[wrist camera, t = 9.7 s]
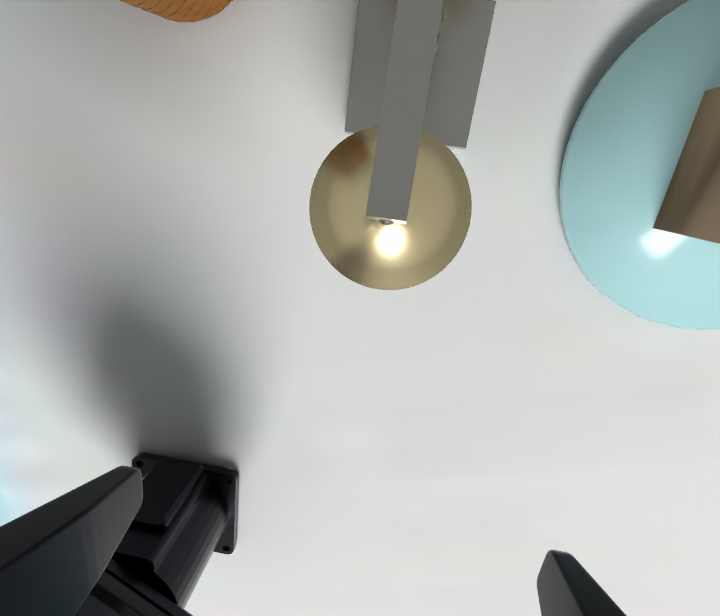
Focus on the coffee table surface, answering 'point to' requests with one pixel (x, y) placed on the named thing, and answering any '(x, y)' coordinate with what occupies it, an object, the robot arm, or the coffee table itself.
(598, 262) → the teal dish
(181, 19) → the disposable coffee cup
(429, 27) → the balance
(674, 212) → the tan block
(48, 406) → the coffee table surface
